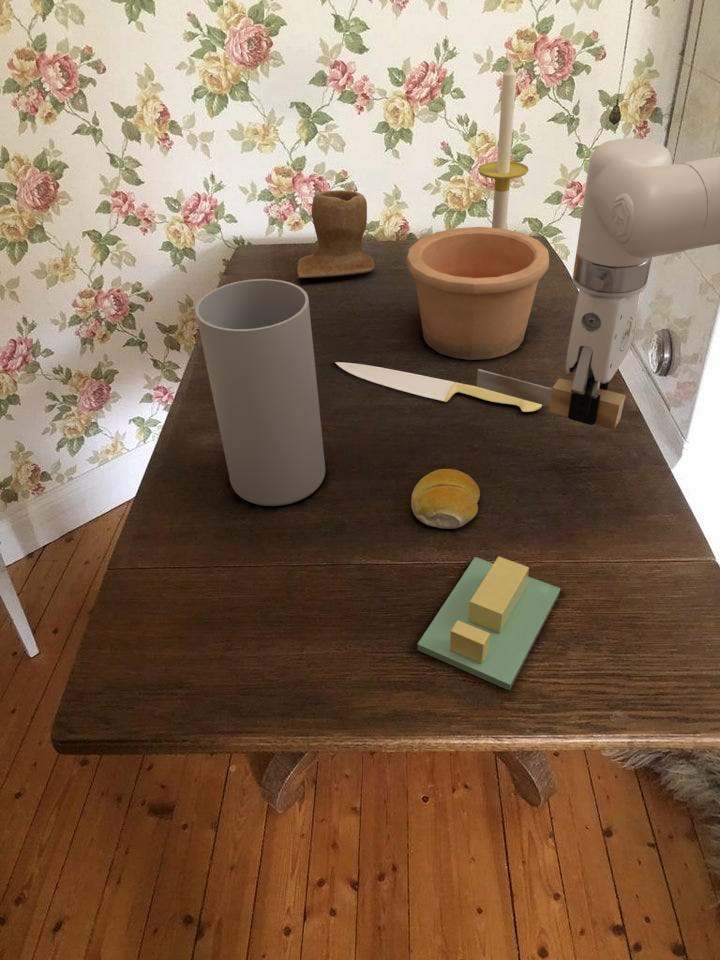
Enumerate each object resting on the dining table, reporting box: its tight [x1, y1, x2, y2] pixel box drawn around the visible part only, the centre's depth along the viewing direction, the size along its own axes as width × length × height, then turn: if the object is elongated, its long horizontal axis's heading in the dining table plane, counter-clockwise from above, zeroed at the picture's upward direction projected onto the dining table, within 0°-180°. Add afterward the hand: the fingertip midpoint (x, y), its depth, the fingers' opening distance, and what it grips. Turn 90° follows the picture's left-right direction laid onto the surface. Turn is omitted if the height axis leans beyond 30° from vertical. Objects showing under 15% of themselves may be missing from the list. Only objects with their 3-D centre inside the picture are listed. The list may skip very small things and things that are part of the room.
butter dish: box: [416, 555, 561, 691], centre depth 78 cm, size 10×14×4 cm
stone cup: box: [296, 189, 375, 279], centre depth 144 cm, size 15×12×15 cm
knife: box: [334, 361, 543, 413], centre depth 114 cm, size 1×34×5 cm
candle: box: [477, 55, 530, 230], centre depth 130 cm, size 10×10×38 cm
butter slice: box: [450, 620, 490, 663], centre depth 74 cm, size 4×2×3 cm, turn 59°
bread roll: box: [410, 468, 481, 530], centre depth 92 cm, size 8×9×4 cm
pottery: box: [406, 226, 550, 361], centre depth 121 cm, size 22×22×14 cm
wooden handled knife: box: [476, 368, 627, 431], centre depth 91 cm, size 18×2×4 cm, turn 59°
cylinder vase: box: [194, 278, 326, 507], centre depth 91 cm, size 12×12×25 cm
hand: (585, 413), depth 90 cm, fingers closed on wooden handled knife, 2 cm apart
